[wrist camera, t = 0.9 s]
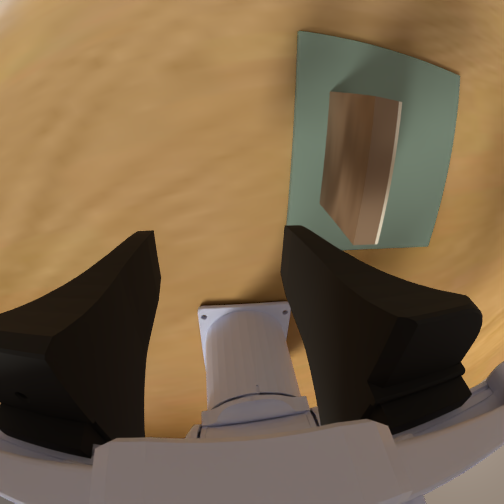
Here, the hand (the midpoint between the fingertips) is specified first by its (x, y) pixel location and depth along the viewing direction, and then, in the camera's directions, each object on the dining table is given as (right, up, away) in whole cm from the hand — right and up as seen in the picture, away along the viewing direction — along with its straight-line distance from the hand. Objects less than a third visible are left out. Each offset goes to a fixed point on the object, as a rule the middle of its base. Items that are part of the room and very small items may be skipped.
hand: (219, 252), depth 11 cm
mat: (+11, +7, +9) cm, 16 cm away
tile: (+7, +7, +8) cm, 13 cm away
